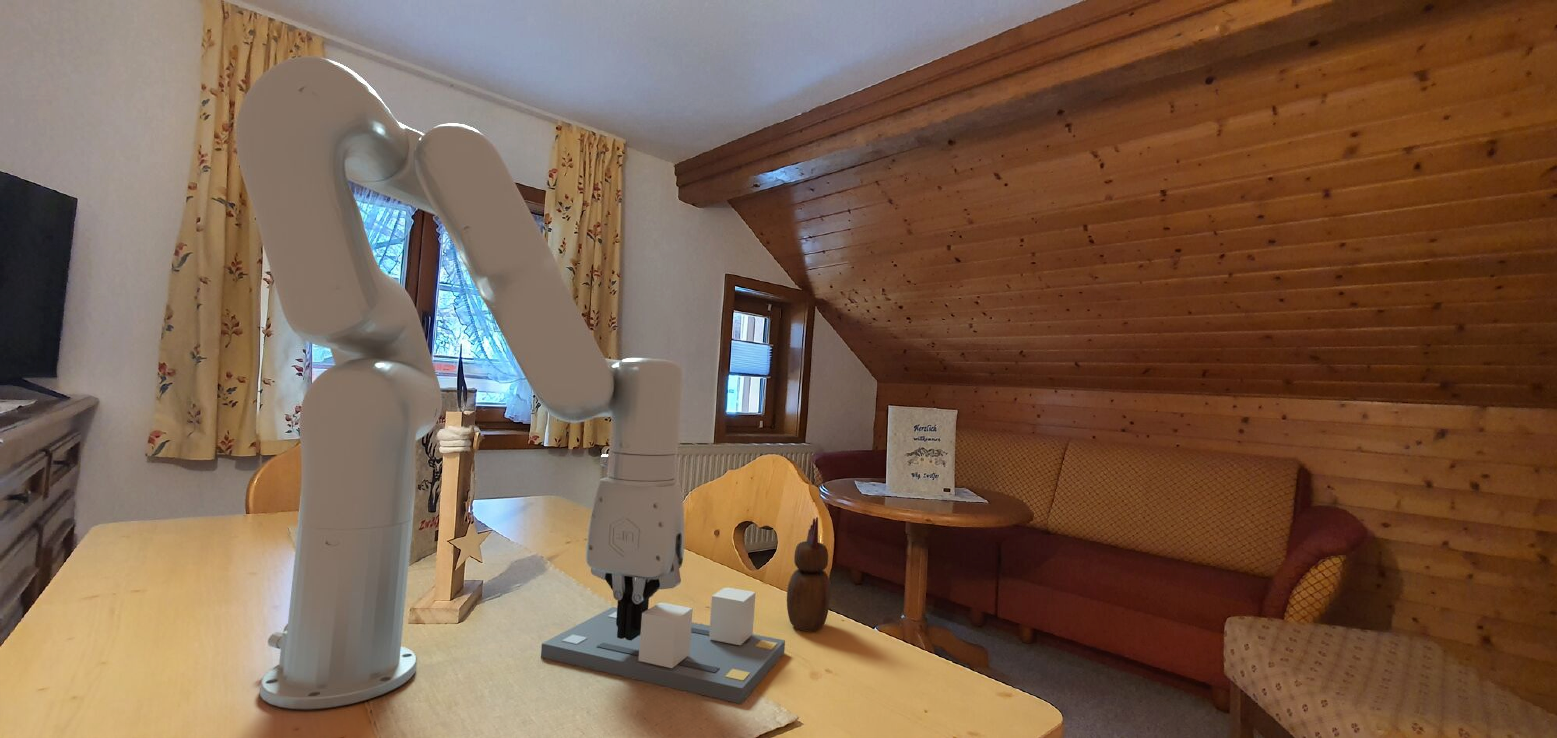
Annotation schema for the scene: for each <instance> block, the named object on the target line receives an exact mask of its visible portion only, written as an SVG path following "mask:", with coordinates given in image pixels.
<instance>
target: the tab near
mask: <svg viewBox="0 0 1557 738" xmlns="http://www.w3.org/2000/svg"><path fill="white" fill-rule="evenodd" d="M692 622H693V607H688V606H683V605H677V604H671V603H667V602H658V603H657V604H655V605H653V606H651V607H650V608H648V610H646V611H645V612H643V613H642V621H641V634H640V647H639V660H638V661H642V662H646V663H651V664H655V665H660V666H664V667H669V668H673V667H674V666H676V665H677V664H678V663H679V662H681V661H682V660H683V659H684V658H686V657H687V656H688V655H689V653H690V639H691V625H692Z"/></svg>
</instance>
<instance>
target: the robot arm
mask: <svg viewBox="0 0 1557 738" xmlns="http://www.w3.org/2000/svg"><path fill="white" fill-rule="evenodd" d="M235 148H236V155H237V161H238V165H239V170H240V173H241V177H242V179H243V180H242V181H243V183H244V185H245V186H244V187H245V189H246V193H247V195H248V196H247V197H248V199H249V202H250V204H251V208H252V211H253V214H254V216H255V220H256V223H257V227H258V231H259V235H260V239H261V243H262V247H263V250H264V253H265V257H266V259H267V262H268V265H269V266H268V267H269V269H270V271H271V275H272V279H273V282H274V285H275V288H276V292H277V295H278V299H279V302H280V307H281V309H282V310H281V311H282V313H283V316H284V319H285V320H286V323H287V324H288V326H289V327H290V328H291V330H292V332H294V333H295V334H296V335H298V336H299V337H300V338H301V339H302V340H304V341H306V342H308V343H310V344H313V345H315V346H318V347H322V348H326V349H327V348H328V349H330V353H331V356H332V359H333V362H334V365H332V366H330V367H328V368H327V369H326V370H324V371H323V372H321V374H319V375H318V376H317V377H316V378H315V379H314V380H313V381H312V383H311V384H310V385H309V387H308V389H307V390H306V392H305V394H304V397H303V399H302V402H301V406H300V410H299V440H300V441H299V442H300V454H301V455H300V457H301V458H300V459H301V483H300V495H299V497H300V498H299V508H298V509H299V510H298V518H297V532H296V541H295V543H296V544H295V552H294V560H293V570H292V571H293V572H292V581H291V590H290V598H289V599H290V600H289V608H288V617H287V618H288V619H287V623H286V625H285V627H284V628H283V631H282V632H280V631H279V632H278V631H276V632H274V633H272V634H271V635H270V636H269V637H268V639H267V645H268V646H269V647H271V648H275V649H279V650H280V652H279V654H280V655H279V663H278V664H277V665H276V666H275V665H274V667H272V669H270V670H268V671H267V672H266V673H265V674H264V675H263V677H262V678H261V682H260V686H259V687H260V689H259V690H260V691H259V695H260V698H261V699H262V700H263V701H264V702H266V703H268V704H269V705H272V706H275V707H278V708H284V709H290V710H319V709H320V710H321V709H329V708H334V707H335V708H336V707H342V706H347V705H351V704H352V705H353V704H356V703H360V702H363V701H367V700H371V699H373V698H377V697H379V696H382V695H384V694H386V693H388V692H391V691H393V690H395V689H397V688H399V687H401V686H402V685H404V684H405V683H406V682H408V681H409V680H410V679H411V678H412V677H413V676H414V674H415V672H416V670H417V665H418V664H417V662H418V657H417V655H416V653H415V652H413V651H412V650H411V649H410V648H407V647H405V646H402V640H403V638H402V637H403V630H404V628H403V626H404V618H405V607H406V596H407V586H408V575H409V564H410V555H411V553H410V552H411V543H412V542H411V541H412V533H413V521H414V510H415V509H414V508H415V497H416V475H417V474H416V473H417V472H416V441H418V440H420V439H421V438H423V437H425V436H426V435H427V434H429V432H430V431H431V430H432V429H433V428H434V427H435V425H436V424H437V423H438V421H439V418H440V416H441V413H442V408H443V397H442V389H441V386H440V381H439V379H438V375H437V372H436V369H435V366H434V362H433V359H432V355H431V353H430V349H429V346H428V342H427V339H426V336H425V333H424V329H423V326H422V323H421V320H420V316H419V314H418V311H417V309H416V306H415V303H414V301H413V299H412V298H411V296H410V294H409V293H408V291H407V290H406V288H405V286H403V285H402V283H400V282H398V280H396V279H395V278H394V277H392V276H390V275H389V274H387V273H386V272H384V271H383V270H382V269H381V268H380V266H379V264H378V262H377V260H376V258H375V255H374V253H373V250H372V246H371V244H370V241H369V239H368V238H369V237H368V235H367V231H366V228H365V225H364V220H363V216H362V213H361V210H360V207H359V205H358V203H357V200H356V198H355V195H354V193H353V191H352V188H351V186H350V184H349V181H351V182H353V183H355V184H357V185H359V186H361V187H363V188H366V189H368V190H371V191H373V192H376V193H377V194H381V195H383V196H386V197H388V198H391V199H394V200H396V201H399V202H402V203H405V204H407V205H409V206H411V207H413V208H417V209H419V210H422V211H424V212H426V213H429V214H432V215H435V216H437V217H438V220H439V221H440V223H441V224H442V227H444V230H446V231H445V232H446V233H447V235H448V237H449V239H450V240H451V242H452V243H453V246H454V247H455V249H456V252H458V255H459V258H460V260H461V261H462V263H463V265H464V267H465V268H466V270H467V272H468V275H469V276H470V278H471V280H472V282H473V283H474V286H475V287H476V289H477V292H478V294H479V296H480V298H481V300H482V301H483V303H484V304H485V305H486V307H487V309H488V310H489V311H490V313H491V315H492V317H493V319H494V321H495V324H496V325H497V327H498V329H499V331H500V333H501V335H502V336H503V338H504V341H505V342H506V344H507V346H508V348H509V350H510V352H511V355H513V357H514V359H515V361H516V363H517V364H518V367H519V368H520V370H521V372H522V374H523V375H524V378H525V379H526V382H527V383H528V384H529V387H530V389H531V390H532V392H533V394H534V396H535V397H536V399H537V401H538V402H539V404H540V405H541V407H542V408H543V409H544V411H546V412H547V413H548V414H549V415H550V416H552V417H553V418H555V419H558V420H560V421H563V422H566V423H583V422H587V421H589V420H592V419H594V418H609V417H610V419H611V422H610V432H609V433H610V435H609V436H610V438H609V450H608V451H607V454H602V455H601V456H600V458H599V465H600V466H601V467H605V468H606V474H607V477H603V478H600V479H599V483H598V485H597V488H596V492H595V496H594V499H593V505H592V508H591V513H590V519H589V525H588V533H587V539H586V548H585V549H586V550H585V562H586V565H587V566H588V567H589V568H590V573H591V575H593V576H595V577H597V578H599V579H601V580H603V581H604V580H605V581H606V582H607V583H606V584H607V585H608V586H609V588H610V589H611V591H612V596H613V598H614V600H615V601H617V603H616V605H617V607H616V608H617V618H616V625H617V627H618V629H617V638H620V639H623V638H626V640H630V641H631V640H633V639H634V638H636V637H637V636H639V635H640V634H641V621H642V613H643V612H645V611H646V610H648V609H649V606H650V605H649V601H650V598H651V597H654V594H655V593H657V592H658V591H659V590H668V589H674V588H676V587H678V586H679V585H681V583H682V580H681V573H680V569H681V567H682V566H683V563H684V555H685V553H684V551H685V509H684V500H683V492H682V486H681V482H678V481H677V480H676V479H677V467H678V465H677V464H678V450H679V435H680V434H679V433H680V420H681V419H680V418H681V407H682V405H681V404H682V392H683V391H682V389H683V370H682V367H681V366H680V365H679V364H678V363H677V362H675V361H673V360H668V359H661V358H660V359H659V358H652V357H651V358H649V357H628V358H623V359H622V360H619V359H612V358H608V357H607V358H605V356H604V354H603V353H602V351H601V349H600V346H599V345H598V343H597V341H596V340H595V337H594V335H593V334H592V331H591V330H590V328H589V326H588V324H587V323H586V320H585V319H584V317H583V315H582V313H581V311H580V310H579V307H578V306H577V304H576V301H575V300H574V298H573V296H572V294H571V293H570V291H569V289H568V287H567V285H566V283H565V280H564V278H563V276H562V273H561V270H560V268H559V267H560V266H559V265H558V262H557V259H556V258H555V256H554V254H553V252H552V250H551V248H550V246H549V244H548V243H547V240H546V239H545V237H544V235H543V233H542V232H541V230H540V228H539V226H538V224H537V222H536V220H535V218H534V216H533V215H532V213H531V211H530V208H529V207H528V205H527V203H526V201H525V199H524V197H523V196H522V194H521V192H520V190H519V188H518V187H517V184H516V183H515V180H514V178H513V177H512V175H511V172H510V171H509V170H508V168H507V165H506V164H505V162H504V159H503V158H502V156H501V154H500V152H499V151H498V150H497V148H496V147H495V146H494V144H493V143H492V141H490V140H489V138H488V137H486V136H485V135H484V134H483V133H482V132H480V131H478V130H477V129H475V128H473V127H470V126H468V125H465V124H460V123H444V124H438V125H437V126H434V127H432V128H431V129H428V130H427V131H426V132H425V133H423V132H420V131H417V130H416V129H413V128H411V127H409V126H407V125H404V124H402V123H401V122H398V120H397V119H396V117H395V116H394V114H393V113H392V112H391V111H390V109H389V108H388V106H387V105H386V104H385V103H384V101H383V100H382V99H381V97H380V96H379V95H378V93H377V92H376V91H375V90H374V88H372V87H371V85H369V83H367V81H365V80H364V79H363V78H362V77H361V76H360V75H358V74H357V73H356V72H354V71H353V70H352V69H350V68H348V67H346V66H344V65H343V64H340V63H338V62H336V61H334V60H332V59H329V58H325V57H319V56H314V55H303V56H302V55H301V56H296V57H291V58H289V59H285V60H283V61H281V62H278V63H276V64H275V65H273V66H272V67H270V68H268V69H267V70H266V71H265V72H264V73H262V74H261V75H260V76H259V77H258V78H257V79H256V80H255V81H254V83H253V84H252V85H251V86H250V88H249V89H248V90H247V92H246V94H245V95H244V98H243V99H242V101H241V104H240V107H239V110H238V113H237V117H236V123H235ZM676 481H677V482H676Z"/></svg>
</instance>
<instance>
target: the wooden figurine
mask: <svg viewBox="0 0 1557 738" xmlns="http://www.w3.org/2000/svg"><path fill="white" fill-rule="evenodd" d="M809 526H810V527H809V528H808V532H807V535H806V536H807V537H806V540H805V541H802V542H801V541H800V542H799V543H798V544H797V545H796V548H795V550H794V559H793V560H794V561H793V562H794V565H795V567H796V568H797V569H795V571H793V573H792V575H791V576H790V578H789V581H788V584H787V591H786V610H787V615H788V619H789V622H790V624H791V625H792V626H793V627H794V628H796V629H797V630H801V631H806V632H812V631H813V632H814V631H817V630H820V629H821V628H822V627H823V626H824V625H825V623H826V621H827V618H828V614H829V611H830V605H831V604H830V603H831V595H832V594H831V591H832V590H831V580H830V578H829V576H828V574H827V572H826V571H824V570H826V568H827V566H828V565H829V564H828V563H829V553H828V552H829V551H828V548H827V546H826V545H825V544H824V543H821V542H819V517H817V516H816V518H813V519H812V524H810V525H809Z"/></svg>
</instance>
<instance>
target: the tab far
mask: <svg viewBox="0 0 1557 738" xmlns="http://www.w3.org/2000/svg"><path fill="white" fill-rule="evenodd" d="M710 604H711V605H710V616H709V617H710V620H709V626H710V631H709V639H711V640H716V641H721V642H726V643H731V644H736V645H742V644H743V643H744V642H745V641H746V640H747V639H748V638H749V637H750V636H751V635H752V634H754V621H755V620H754V619H755V605H756V592H755V591H749V590H746V589H740V588H739V589H737V588H732V587H726V586H725V587H723V588H721V589H720V590H718V591H717V592H716V593H714V594H713V595H711V603H710Z"/></svg>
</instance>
